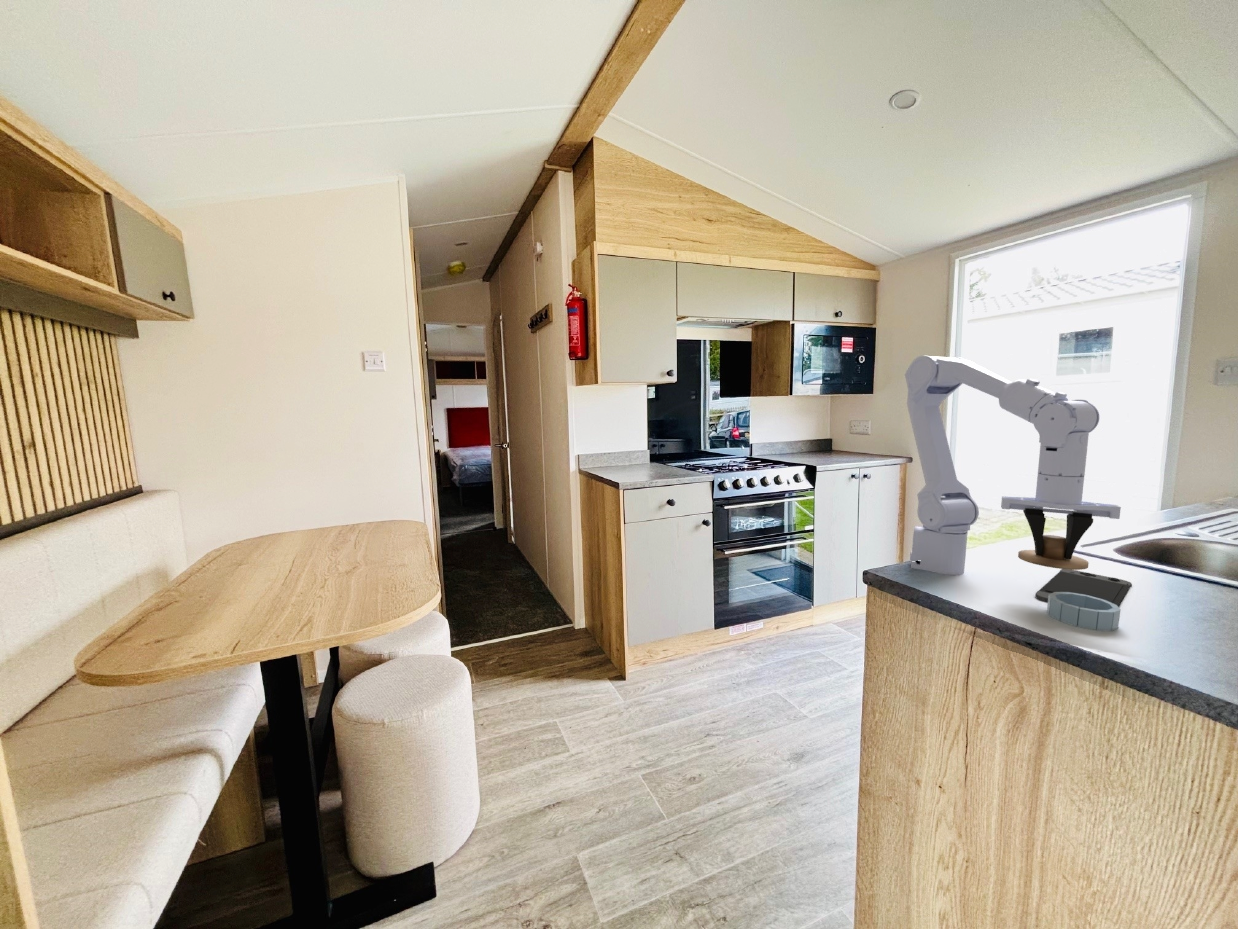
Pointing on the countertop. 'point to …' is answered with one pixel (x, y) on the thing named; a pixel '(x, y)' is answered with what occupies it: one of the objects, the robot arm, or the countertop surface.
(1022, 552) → the lid
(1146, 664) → the countertop surface
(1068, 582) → the gaming console
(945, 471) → the robot arm
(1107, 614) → the bowl
